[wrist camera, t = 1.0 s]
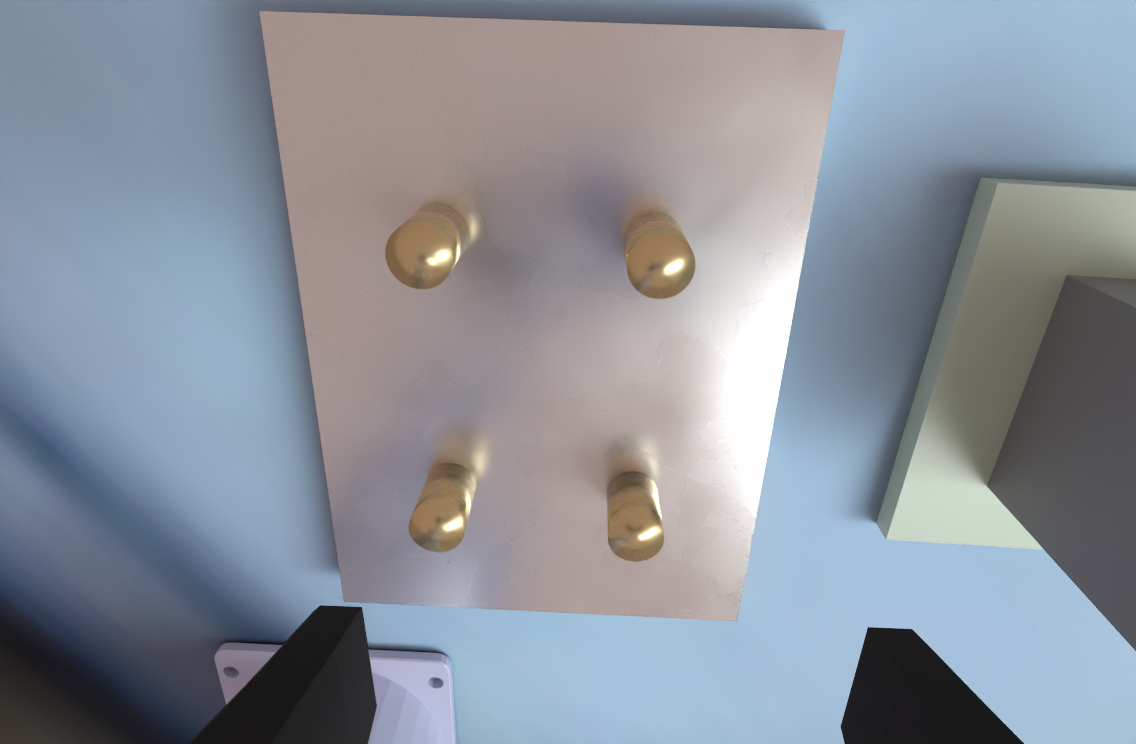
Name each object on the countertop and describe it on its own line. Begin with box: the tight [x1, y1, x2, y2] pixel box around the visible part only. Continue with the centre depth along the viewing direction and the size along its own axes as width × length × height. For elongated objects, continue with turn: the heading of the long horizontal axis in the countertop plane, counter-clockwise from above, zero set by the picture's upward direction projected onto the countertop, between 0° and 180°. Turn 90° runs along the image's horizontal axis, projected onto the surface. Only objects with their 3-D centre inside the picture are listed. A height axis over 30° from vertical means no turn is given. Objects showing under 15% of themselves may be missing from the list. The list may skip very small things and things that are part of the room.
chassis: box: [259, 11, 845, 621], centre depth 17 cm, size 16×12×3 cm
